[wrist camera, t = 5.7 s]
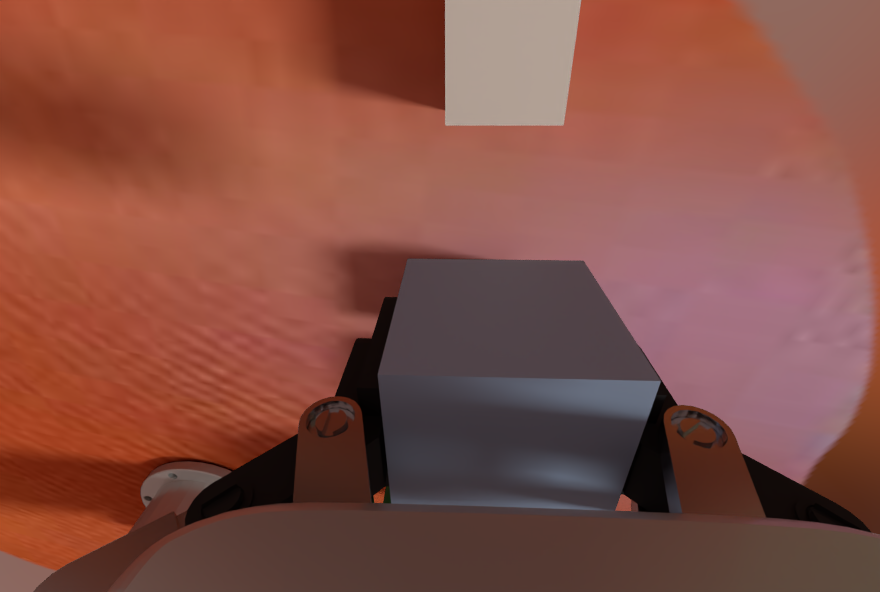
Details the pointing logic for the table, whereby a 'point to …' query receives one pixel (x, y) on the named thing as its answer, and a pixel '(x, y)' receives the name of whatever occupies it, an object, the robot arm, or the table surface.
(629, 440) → the slate block
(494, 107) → the cream block
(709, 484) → the robot arm
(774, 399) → the table surface
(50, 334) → the table surface
